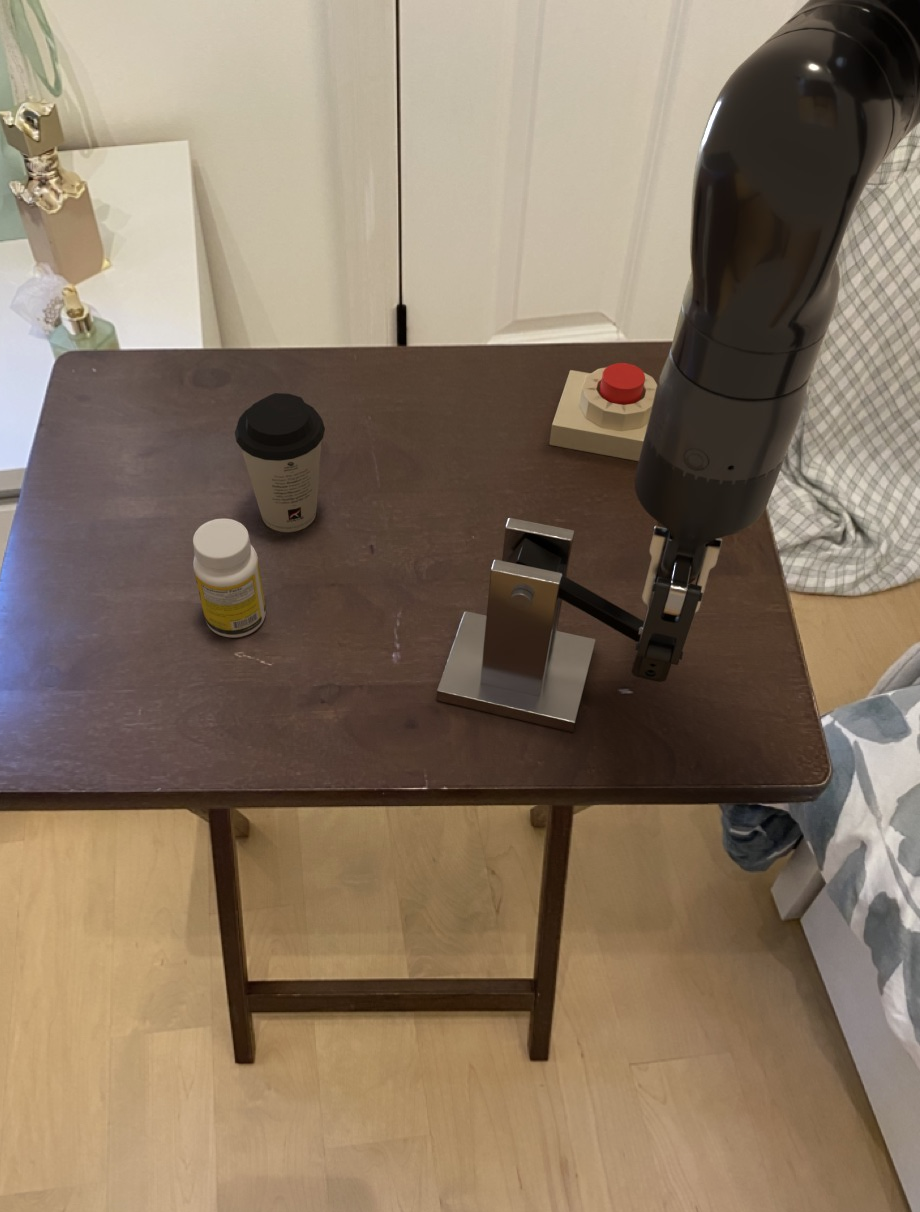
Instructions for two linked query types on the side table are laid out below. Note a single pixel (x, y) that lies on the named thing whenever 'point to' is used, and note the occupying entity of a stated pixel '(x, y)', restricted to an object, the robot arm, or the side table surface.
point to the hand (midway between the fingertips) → (658, 626)
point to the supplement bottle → (228, 578)
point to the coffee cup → (283, 459)
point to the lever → (577, 591)
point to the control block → (600, 418)
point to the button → (622, 384)
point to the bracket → (521, 641)
